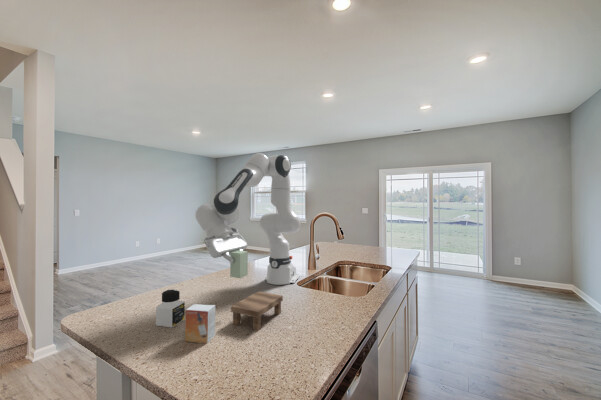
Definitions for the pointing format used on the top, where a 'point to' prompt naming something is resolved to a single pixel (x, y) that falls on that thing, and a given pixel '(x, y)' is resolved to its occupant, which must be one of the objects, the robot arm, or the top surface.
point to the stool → (256, 307)
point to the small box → (200, 323)
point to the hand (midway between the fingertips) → (238, 260)
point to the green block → (239, 264)
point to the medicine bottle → (170, 309)
